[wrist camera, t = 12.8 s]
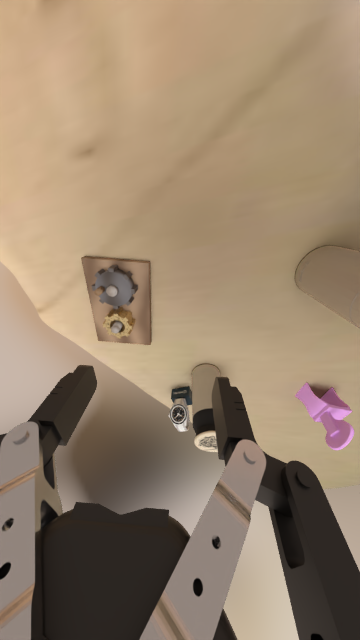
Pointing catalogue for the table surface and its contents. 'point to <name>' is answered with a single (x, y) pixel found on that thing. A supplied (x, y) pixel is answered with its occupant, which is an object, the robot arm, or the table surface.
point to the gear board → (134, 307)
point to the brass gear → (124, 318)
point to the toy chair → (329, 415)
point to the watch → (181, 408)
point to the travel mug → (204, 406)
